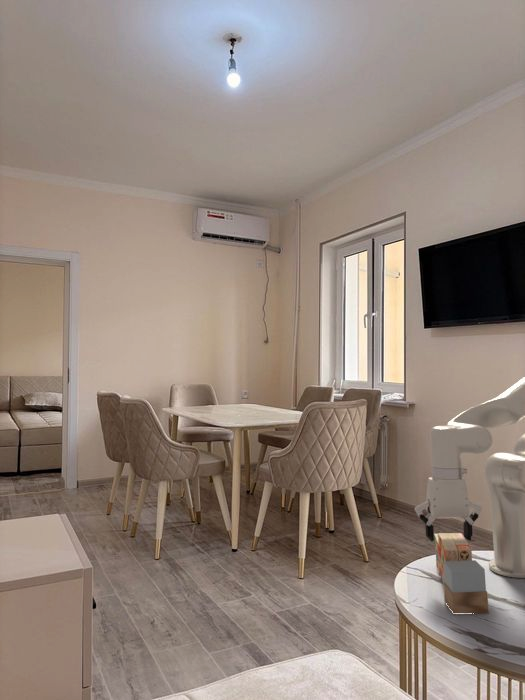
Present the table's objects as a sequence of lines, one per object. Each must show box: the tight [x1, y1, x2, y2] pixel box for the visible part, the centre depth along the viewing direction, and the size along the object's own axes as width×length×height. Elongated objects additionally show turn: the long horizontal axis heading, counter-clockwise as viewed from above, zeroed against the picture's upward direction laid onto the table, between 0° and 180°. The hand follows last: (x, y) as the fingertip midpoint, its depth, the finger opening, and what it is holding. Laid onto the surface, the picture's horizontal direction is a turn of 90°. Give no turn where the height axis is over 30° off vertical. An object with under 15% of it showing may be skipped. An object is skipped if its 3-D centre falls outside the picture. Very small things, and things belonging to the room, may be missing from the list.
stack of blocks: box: [433, 532, 473, 584], centre depth 139 cm, size 21×6×12 cm, turn 169°
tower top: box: [443, 559, 487, 593], centre depth 123 cm, size 8×6×5 cm
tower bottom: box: [443, 583, 490, 615], centre depth 123 cm, size 8×6×5 cm
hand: (449, 539), depth 138 cm, fingers open, 9 cm apart
